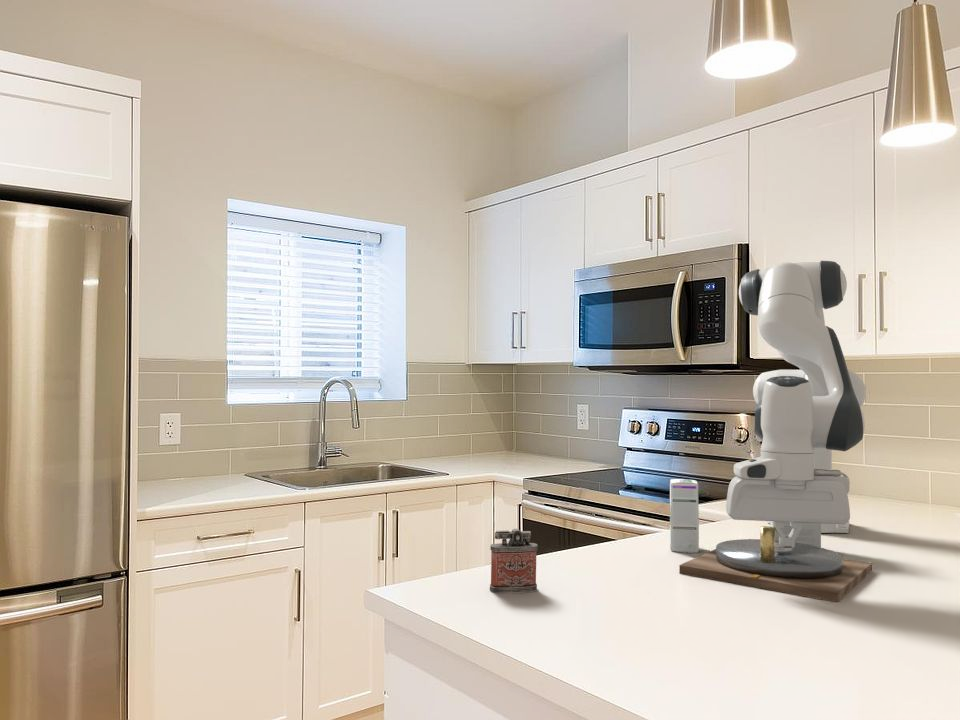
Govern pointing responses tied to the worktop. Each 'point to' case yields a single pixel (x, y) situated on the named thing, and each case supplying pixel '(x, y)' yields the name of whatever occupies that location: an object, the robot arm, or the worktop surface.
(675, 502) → the syrup box
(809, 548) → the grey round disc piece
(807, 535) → the supplement box
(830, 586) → the stand plate
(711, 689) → the worktop surface
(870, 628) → the worktop surface
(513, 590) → the lighter
